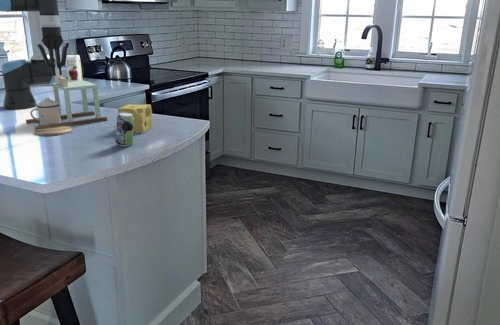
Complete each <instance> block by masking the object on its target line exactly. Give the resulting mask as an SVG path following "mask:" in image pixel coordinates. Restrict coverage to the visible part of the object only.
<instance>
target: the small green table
mask: <svg viewBox="0 0 500 325" xmlns="http://www.w3.org/2000/svg"><path fill="white" fill-rule="evenodd" d="M60 81H61V83H58V84H57V83H52V89H53V96H54V98H53V99H54V101H55V102H58V103H59V104H60V105H59V109H60V116H61V115H62V111H61V110H62V109H61V102H60V93H59V90H62V91H63V94H64V102H65V110H66V111H65V112H66V114H67V122H73V121H74V120H73V118H72V114H73V113H72V104H71V97H70V96H71V95H70V91H79V90H81V97H82V106H83V107H82V108H83V112H85V113H87V112H89V104H88V96H87V90H88V89H92V93H93V101H94V104H93V105H94V110H95V111H94V113H95V118H101V117H102V116H101V107H100V97H99V88H98V87H99V86H98V84H96V83H93V82H90V81H86V80H82V81H73V82H68V77H67V78H66V77H63V76H62V75H60Z"/></svg>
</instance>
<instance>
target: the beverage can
mask: <svg viewBox="0 0 500 325" xmlns="http://www.w3.org/2000/svg"><path fill="white" fill-rule="evenodd" d="M133 130H134V117H133V114H131V113H119V115H117V117H116V128H115V144H117V145H118V146H120V147H130V146H131V145H132V144H133V141H134V132H133Z"/></svg>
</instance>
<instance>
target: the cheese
mask: <svg viewBox="0 0 500 325" xmlns="http://www.w3.org/2000/svg"><path fill="white" fill-rule="evenodd" d="M117 112H118V113H117V114H118V115H119V113H131V114H133V117H134V130H133V133H137V134H144V133H145V132H147V131H148V130H150V129H152V128H153V110H152V105H151V104H129V103H128V104H126V105H124V106H122V107H120V108H118V110H117ZM118 115H117V116H118Z"/></svg>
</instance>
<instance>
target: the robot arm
mask: <svg viewBox="0 0 500 325" xmlns="http://www.w3.org/2000/svg"><path fill="white" fill-rule="evenodd" d="M0 12H6V13H9V12H12V13H13V12H15V13H16V12H26V13H27V21H28V26H29V27H28V28H29V33H30V41H31V43H30V44H31V48H32V56H31V57H30V61H29V62H28V61H27V60H26V59H16V60H11V61H7V62H3V63H2V64H1V74H2V79H3V86H4V91H5V92H4V93H5V94H4V100H3V108H4V109H6V110H22V109H28V108H33V107H37V101H36V99H35V97H34V95H33V93H32V91H31V86H35V85H36V86H38V85H50V84H52V85H53V83H57V84H58V83H61V81H60V76H62V75H63V73H62V72H63V71H62V68H63V67H65V66H66V56H67V54H68V48H69V46H70V43H69V42H67V41H64V39H63V37H62V28H61V27H60V25H61V22H60V15H59V13H60V12H59V4H58V0H0ZM61 46H62V51H61V53H60V48H61ZM54 55H55V56H54Z"/></svg>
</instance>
